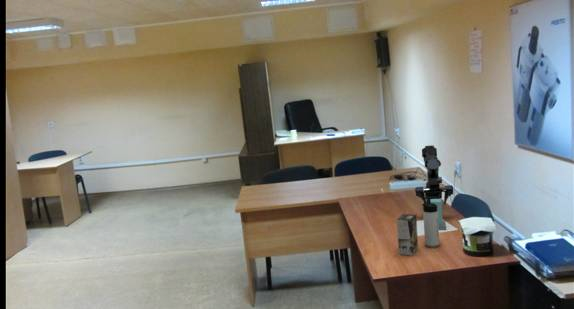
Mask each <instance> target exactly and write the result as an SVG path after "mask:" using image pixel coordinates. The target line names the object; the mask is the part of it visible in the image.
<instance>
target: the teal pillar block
mask: <svg viewBox="0 0 574 309" xmlns="http://www.w3.org/2000/svg"><path fill="white" fill-rule="evenodd" d="M430 202H431V203H433V204H435V205H437V209H438V225H443V222H442V220H443V202H442V198H441V199H430Z"/></svg>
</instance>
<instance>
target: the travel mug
mask: <svg viewBox="0 0 574 309" xmlns="http://www.w3.org/2000/svg"><path fill="white" fill-rule="evenodd" d="M421 205H422V212H423V214H422V215H423V220H424V234H425V235H424V245H425V247H427V248H430V249H433V248H435V249H436V248H438V247H439V245H440V233H439V227H438V209H437V205H435V204H433V203H424V202H423V203H422V204H421Z"/></svg>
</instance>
